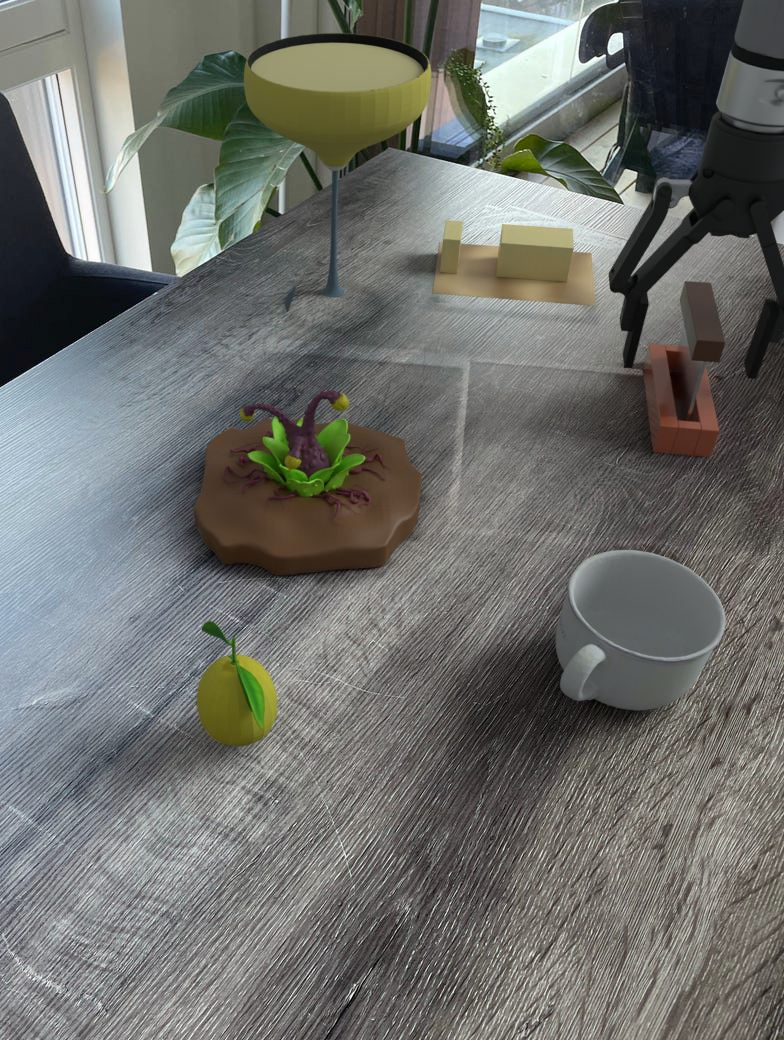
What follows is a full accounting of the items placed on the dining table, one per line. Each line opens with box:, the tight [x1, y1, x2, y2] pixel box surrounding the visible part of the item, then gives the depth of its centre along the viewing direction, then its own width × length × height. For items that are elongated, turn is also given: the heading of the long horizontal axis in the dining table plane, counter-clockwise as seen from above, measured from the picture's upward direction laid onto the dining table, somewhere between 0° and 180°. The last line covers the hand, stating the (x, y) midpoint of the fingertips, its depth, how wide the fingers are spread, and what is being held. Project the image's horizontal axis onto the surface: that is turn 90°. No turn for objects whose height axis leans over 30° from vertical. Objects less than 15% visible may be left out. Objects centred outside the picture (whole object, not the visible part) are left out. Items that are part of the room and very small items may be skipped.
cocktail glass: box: [243, 32, 432, 312], centre depth 108 cm, size 18×18×25 cm
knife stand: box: [641, 342, 720, 458], centre depth 100 cm, size 5×15×4 cm, turn 171°
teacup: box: [555, 549, 727, 711], centre depth 74 cm, size 14×11×8 cm
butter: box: [496, 223, 575, 282], centre depth 118 cm, size 8×5×4 cm, turn 81°
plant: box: [192, 389, 423, 576], centre depth 88 cm, size 20×20×11 cm
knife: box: [670, 280, 726, 421], centre depth 97 cm, size 2×11×10 cm, turn 171°
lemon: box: [196, 620, 278, 747], centre depth 69 cm, size 7×6×10 cm
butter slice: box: [440, 219, 464, 274], centre depth 119 cm, size 2×5×4 cm, turn 171°
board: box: [431, 241, 597, 307], centre depth 120 cm, size 18×13×2 cm
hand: (688, 365), depth 97 cm, fingers open, 10 cm apart
